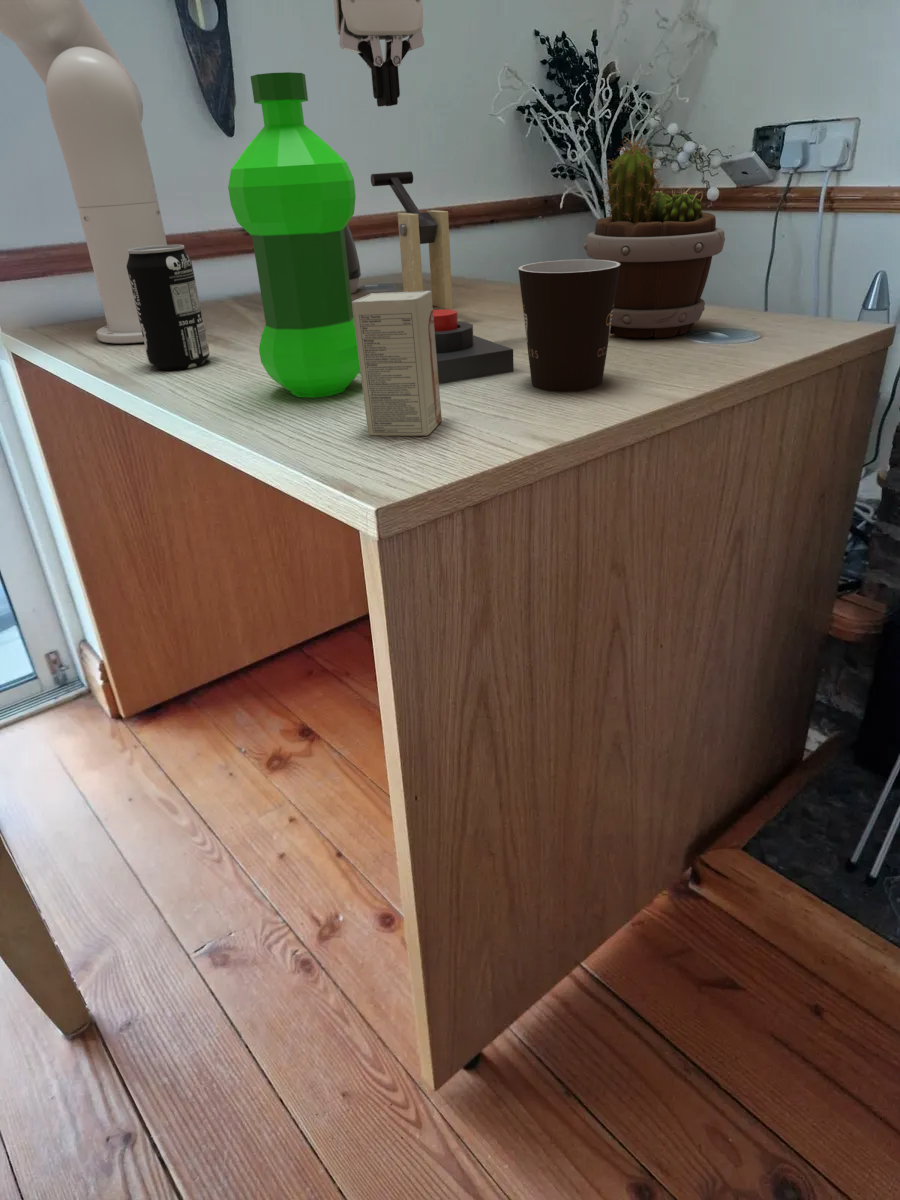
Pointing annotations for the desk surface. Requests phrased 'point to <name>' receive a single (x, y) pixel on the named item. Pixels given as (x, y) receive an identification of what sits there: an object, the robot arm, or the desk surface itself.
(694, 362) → the desk surface
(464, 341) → the control block
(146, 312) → the beverage can
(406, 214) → the lever bracket
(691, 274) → the flowerpot
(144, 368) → the desk surface
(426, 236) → the lever
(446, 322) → the button
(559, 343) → the coffee mug
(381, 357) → the medicine carton
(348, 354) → the plastic bottle
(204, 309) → the desk surface
